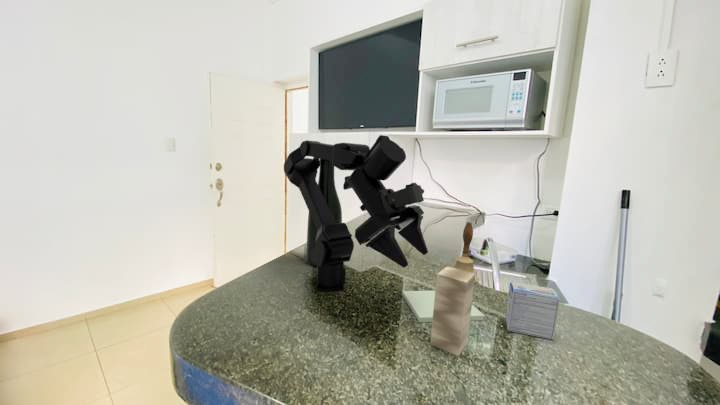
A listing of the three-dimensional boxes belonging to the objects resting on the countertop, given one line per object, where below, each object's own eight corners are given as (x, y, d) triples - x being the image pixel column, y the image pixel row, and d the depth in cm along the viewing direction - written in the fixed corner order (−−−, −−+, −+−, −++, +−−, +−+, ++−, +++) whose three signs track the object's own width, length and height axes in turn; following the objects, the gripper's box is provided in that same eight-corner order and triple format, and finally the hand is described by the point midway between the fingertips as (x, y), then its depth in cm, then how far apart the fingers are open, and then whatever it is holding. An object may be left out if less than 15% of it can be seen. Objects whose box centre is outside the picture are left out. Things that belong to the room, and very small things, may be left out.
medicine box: (547, 329, 59) (554, 288, 58) (554, 341, 55) (561, 297, 54) (504, 320, 62) (509, 280, 61) (507, 331, 58) (513, 289, 57)
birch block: (430, 344, 52) (436, 274, 50) (440, 331, 56) (447, 266, 54) (458, 356, 49) (466, 282, 48) (467, 342, 53) (475, 273, 52)
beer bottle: (340, 256, 96) (345, 153, 91) (340, 268, 86) (346, 153, 81) (308, 255, 95) (311, 151, 91) (304, 267, 85) (307, 151, 80)
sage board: (419, 322, 59) (419, 317, 59) (402, 295, 71) (402, 291, 71) (484, 320, 61) (484, 315, 61) (456, 294, 73) (457, 290, 73)
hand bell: (443, 272, 87) (448, 219, 85) (468, 272, 89) (474, 219, 87) (457, 284, 79) (463, 226, 77) (485, 283, 81) (492, 226, 79)
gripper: (374, 168, 49) (431, 249, 45) (420, 168, 64) (464, 228, 60) (334, 207, 54) (381, 282, 50) (385, 198, 70) (423, 255, 66)
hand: (416, 259), depth 56 cm, fingers open, 9 cm apart
